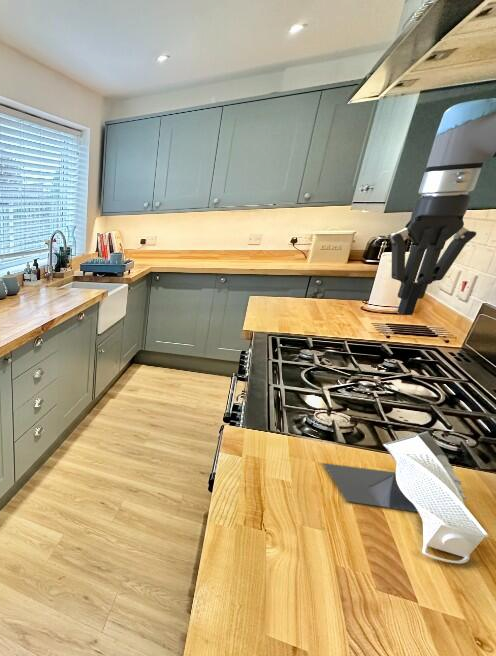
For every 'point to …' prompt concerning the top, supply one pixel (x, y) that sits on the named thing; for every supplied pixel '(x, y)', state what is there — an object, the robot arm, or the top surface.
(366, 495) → the slate pad
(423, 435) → the skyscraper
